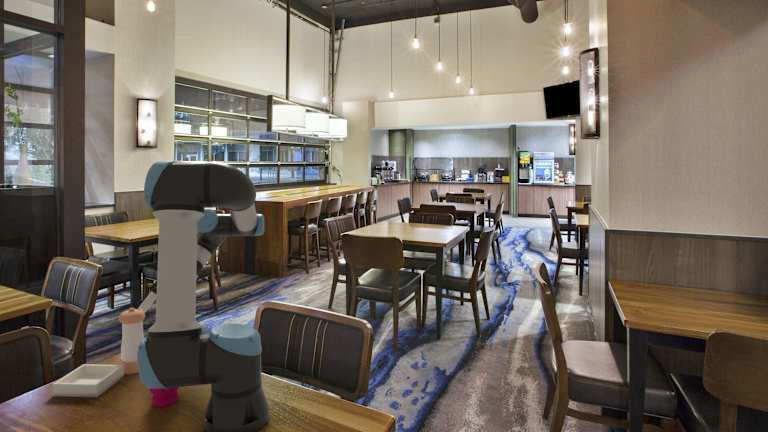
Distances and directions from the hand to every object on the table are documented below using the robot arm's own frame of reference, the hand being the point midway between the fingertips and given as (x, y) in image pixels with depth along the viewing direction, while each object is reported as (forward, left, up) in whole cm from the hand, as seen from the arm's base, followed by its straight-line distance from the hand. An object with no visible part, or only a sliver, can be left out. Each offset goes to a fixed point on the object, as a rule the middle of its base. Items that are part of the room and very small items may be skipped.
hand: (152, 314), depth 138 cm
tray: (-17, +9, -15) cm, 24 cm away
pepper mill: (-24, -16, -15) cm, 33 cm away
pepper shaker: (-6, +3, -15) cm, 17 cm away
